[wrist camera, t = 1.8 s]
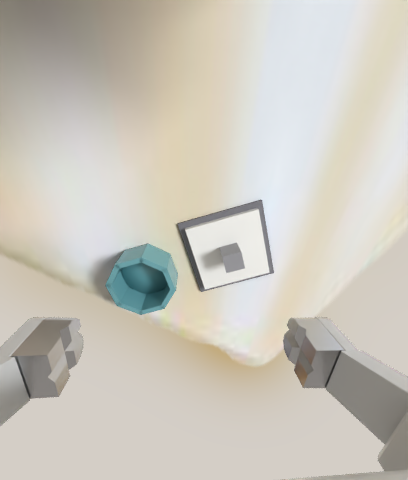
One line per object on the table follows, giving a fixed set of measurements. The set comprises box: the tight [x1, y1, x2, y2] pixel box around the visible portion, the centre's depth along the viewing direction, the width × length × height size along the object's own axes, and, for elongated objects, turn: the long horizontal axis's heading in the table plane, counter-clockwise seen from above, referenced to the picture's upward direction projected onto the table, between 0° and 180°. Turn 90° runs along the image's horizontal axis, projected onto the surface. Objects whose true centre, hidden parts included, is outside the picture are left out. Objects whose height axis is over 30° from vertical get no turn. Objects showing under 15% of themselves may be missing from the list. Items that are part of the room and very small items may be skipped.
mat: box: [178, 200, 274, 292], centre depth 36 cm, size 14×14×1 cm
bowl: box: [105, 244, 178, 315], centre depth 34 cm, size 10×10×5 cm
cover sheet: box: [185, 208, 270, 290], centre depth 34 cm, size 12×12×4 cm
